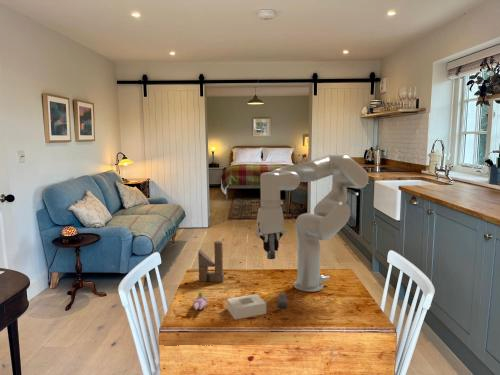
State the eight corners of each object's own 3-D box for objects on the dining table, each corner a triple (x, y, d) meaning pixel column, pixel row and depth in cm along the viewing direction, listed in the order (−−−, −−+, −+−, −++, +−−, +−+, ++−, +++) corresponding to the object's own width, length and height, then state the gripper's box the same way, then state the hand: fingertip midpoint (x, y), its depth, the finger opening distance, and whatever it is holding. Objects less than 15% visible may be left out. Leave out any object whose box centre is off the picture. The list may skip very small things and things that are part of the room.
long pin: (273, 256, 150) (272, 229, 149) (276, 258, 147) (276, 231, 146) (265, 257, 149) (265, 230, 148) (269, 259, 146) (268, 232, 145)
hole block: (256, 303, 145) (256, 293, 144) (266, 313, 136) (266, 303, 136) (227, 309, 141) (226, 298, 140) (234, 319, 132) (234, 308, 132)
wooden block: (200, 279, 171) (199, 240, 169) (224, 279, 171) (223, 241, 168) (198, 282, 168) (197, 242, 166) (222, 282, 167) (222, 243, 165)
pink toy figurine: (194, 303, 149) (189, 314, 134) (194, 288, 149) (189, 297, 134) (210, 303, 149) (207, 314, 134) (209, 287, 150) (206, 297, 135)
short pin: (284, 304, 144) (284, 293, 143) (288, 308, 141) (288, 296, 140) (276, 305, 143) (276, 294, 142) (280, 309, 140) (280, 297, 139)
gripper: (285, 201, 152) (285, 245, 154) (247, 204, 146) (248, 250, 148) (293, 204, 145) (294, 250, 147) (254, 207, 139) (255, 255, 141)
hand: (271, 250), depth 148 cm, fingers closed on long pin, 3 cm apart
